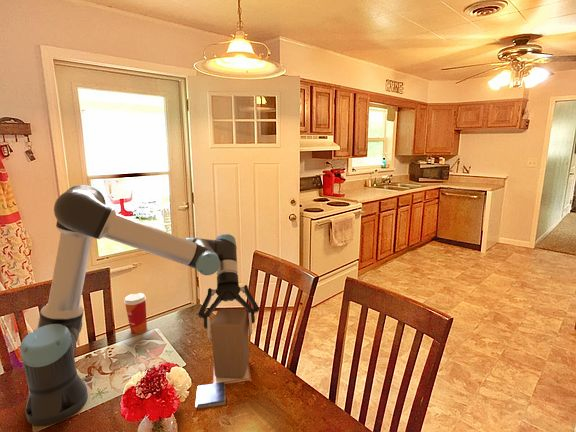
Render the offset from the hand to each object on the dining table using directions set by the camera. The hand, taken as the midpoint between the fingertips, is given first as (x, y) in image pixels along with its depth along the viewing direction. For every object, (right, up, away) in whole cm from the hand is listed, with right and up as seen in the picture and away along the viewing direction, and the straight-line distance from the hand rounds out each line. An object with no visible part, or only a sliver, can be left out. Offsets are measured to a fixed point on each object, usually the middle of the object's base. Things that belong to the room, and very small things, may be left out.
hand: (230, 335), depth 109 cm
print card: (0, -13, +4) cm, 14 cm away
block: (0, -13, +4) cm, 14 cm away
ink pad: (-5, -16, -7) cm, 18 cm away
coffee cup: (-43, -8, +29) cm, 52 cm away
